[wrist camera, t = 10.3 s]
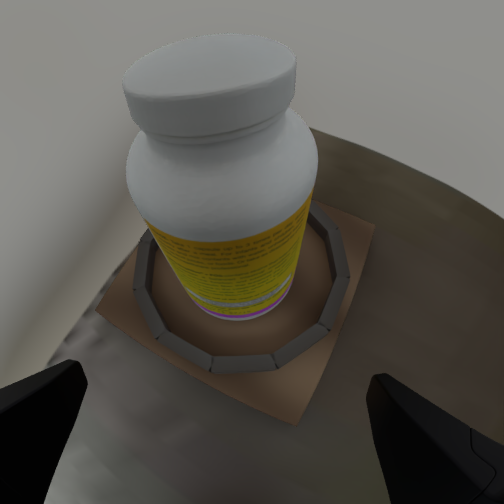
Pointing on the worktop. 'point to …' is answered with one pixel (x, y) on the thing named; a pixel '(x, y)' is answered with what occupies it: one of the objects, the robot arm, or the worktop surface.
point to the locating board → (253, 330)
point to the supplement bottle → (222, 167)
